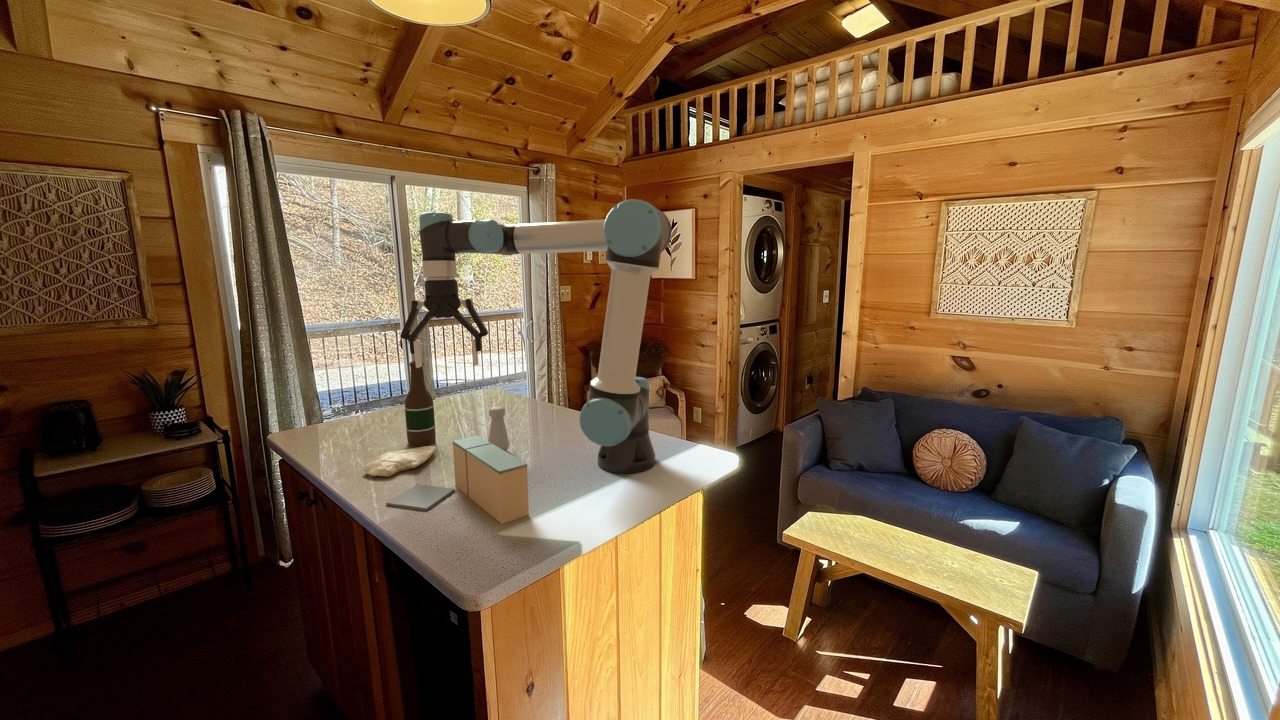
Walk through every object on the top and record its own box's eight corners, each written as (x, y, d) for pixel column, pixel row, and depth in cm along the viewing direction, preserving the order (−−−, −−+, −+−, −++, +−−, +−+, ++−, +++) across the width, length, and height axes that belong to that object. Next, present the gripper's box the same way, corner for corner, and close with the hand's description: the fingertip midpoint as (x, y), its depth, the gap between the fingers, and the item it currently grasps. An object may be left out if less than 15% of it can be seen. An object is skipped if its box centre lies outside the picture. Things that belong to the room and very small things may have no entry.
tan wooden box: (468, 496, 114) (465, 449, 112) (494, 489, 118) (491, 443, 116) (501, 524, 102) (499, 471, 100) (528, 514, 105) (527, 463, 104)
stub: (455, 486, 119) (452, 440, 117) (480, 479, 123) (477, 435, 121) (467, 496, 114) (464, 448, 112) (492, 488, 118) (490, 443, 116)
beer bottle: (441, 441, 150) (436, 361, 146) (418, 448, 144) (411, 365, 140) (425, 436, 155) (419, 358, 150) (401, 443, 148) (395, 362, 144)
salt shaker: (503, 457, 138) (501, 410, 136) (484, 455, 139) (481, 409, 137) (513, 450, 143) (511, 405, 141) (494, 448, 145) (492, 404, 142)
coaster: (455, 491, 117) (454, 488, 116) (426, 510, 107) (426, 508, 107) (417, 486, 119) (416, 484, 119) (386, 505, 109) (385, 502, 109)
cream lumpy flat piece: (352, 475, 126) (417, 450, 144) (390, 484, 121) (453, 458, 139) (351, 460, 126) (417, 437, 143) (389, 469, 120) (453, 444, 138)
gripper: (495, 278, 129) (501, 361, 132) (391, 280, 125) (399, 365, 129) (491, 278, 121) (497, 366, 125) (380, 280, 118) (389, 370, 122)
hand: (447, 365), depth 127 cm, fingers open, 13 cm apart
